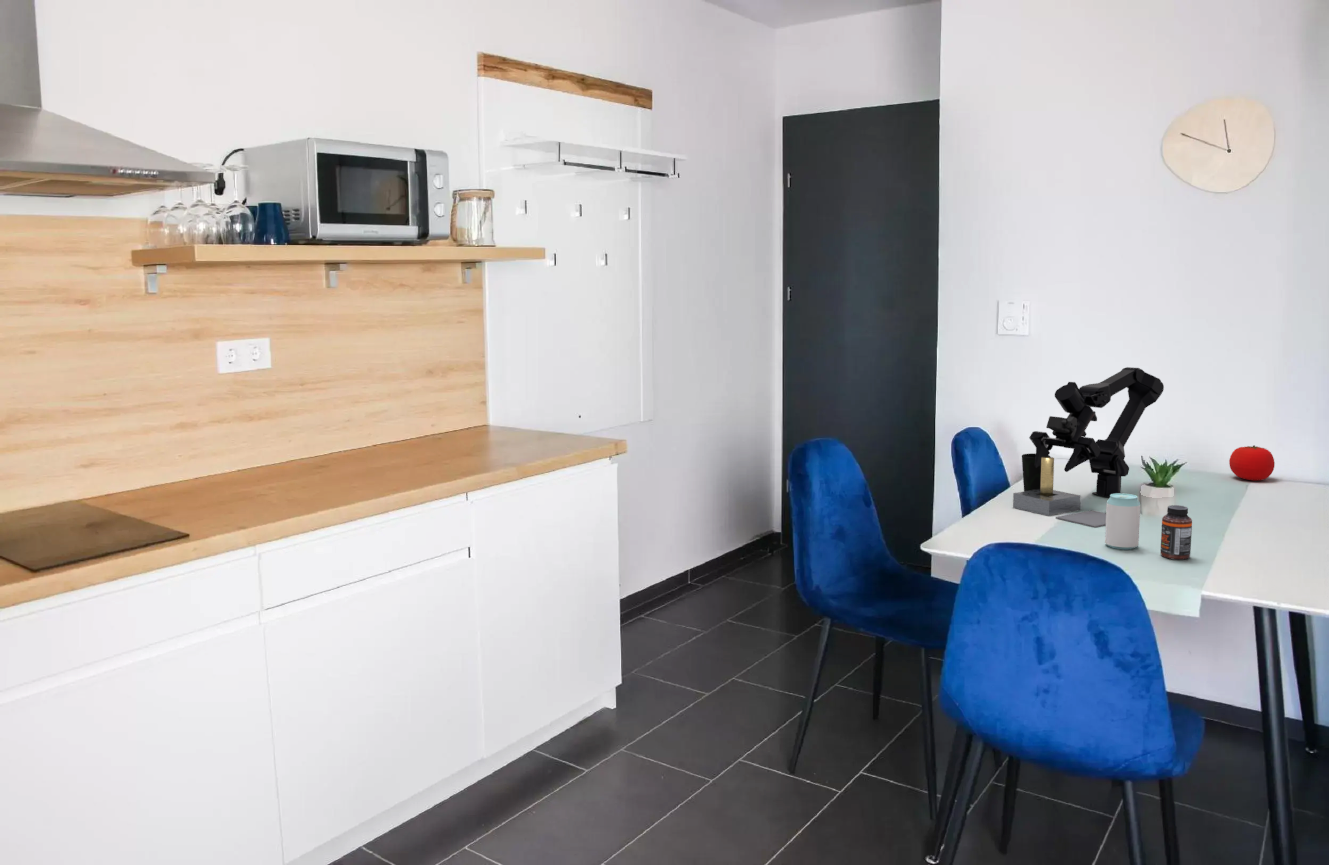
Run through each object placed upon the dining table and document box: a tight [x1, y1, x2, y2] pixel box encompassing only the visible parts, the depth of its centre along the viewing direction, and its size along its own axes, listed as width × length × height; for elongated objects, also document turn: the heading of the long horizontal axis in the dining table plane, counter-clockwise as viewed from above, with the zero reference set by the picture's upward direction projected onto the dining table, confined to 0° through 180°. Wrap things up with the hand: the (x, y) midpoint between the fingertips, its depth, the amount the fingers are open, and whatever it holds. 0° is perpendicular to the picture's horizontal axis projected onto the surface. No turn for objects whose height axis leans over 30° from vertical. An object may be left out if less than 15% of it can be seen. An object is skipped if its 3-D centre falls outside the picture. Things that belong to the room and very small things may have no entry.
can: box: [1104, 492, 1141, 550], centre depth 229 cm, size 7×7×12 cm
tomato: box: [1228, 445, 1276, 482], centre depth 301 cm, size 12×12×10 cm
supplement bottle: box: [1160, 504, 1193, 561], centre depth 220 cm, size 6×6×11 cm
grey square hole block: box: [1012, 489, 1081, 517], centre depth 269 cm, size 12×12×4 cm
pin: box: [1040, 456, 1055, 497], centre depth 268 cm, size 3×3×14 cm
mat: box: [1055, 509, 1106, 529], centre depth 256 cm, size 14×12×1 cm
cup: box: [1021, 453, 1051, 492], centre depth 284 cm, size 8×8×12 cm
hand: (1050, 468), depth 269 cm, fingers open, 9 cm apart
